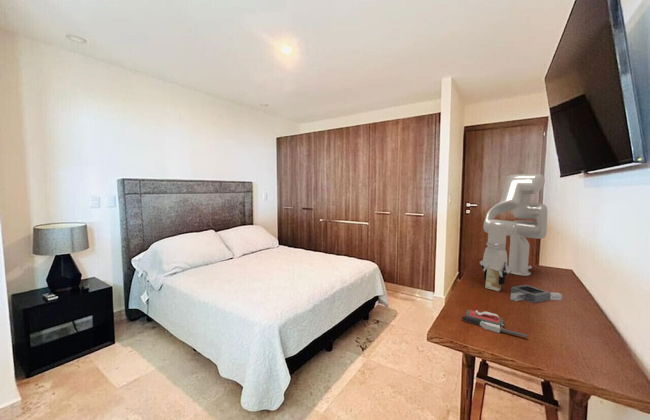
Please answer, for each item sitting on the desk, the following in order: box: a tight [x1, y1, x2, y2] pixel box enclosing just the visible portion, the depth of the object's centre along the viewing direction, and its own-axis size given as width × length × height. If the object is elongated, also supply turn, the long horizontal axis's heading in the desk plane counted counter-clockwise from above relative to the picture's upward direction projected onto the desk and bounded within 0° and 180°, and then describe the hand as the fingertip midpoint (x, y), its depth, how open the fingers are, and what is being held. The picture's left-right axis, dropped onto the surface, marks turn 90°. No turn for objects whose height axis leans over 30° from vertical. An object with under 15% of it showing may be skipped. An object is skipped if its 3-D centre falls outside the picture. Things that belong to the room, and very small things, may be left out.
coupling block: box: [510, 284, 563, 304], centre depth 126 cm, size 23×13×4 cm, turn 111°
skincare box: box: [484, 265, 502, 292], centre depth 136 cm, size 6×4×12 cm
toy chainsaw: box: [461, 309, 529, 338], centre depth 99 cm, size 9×4×20 cm
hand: (493, 281), depth 136 cm, fingers closed on skincare box, 7 cm apart
